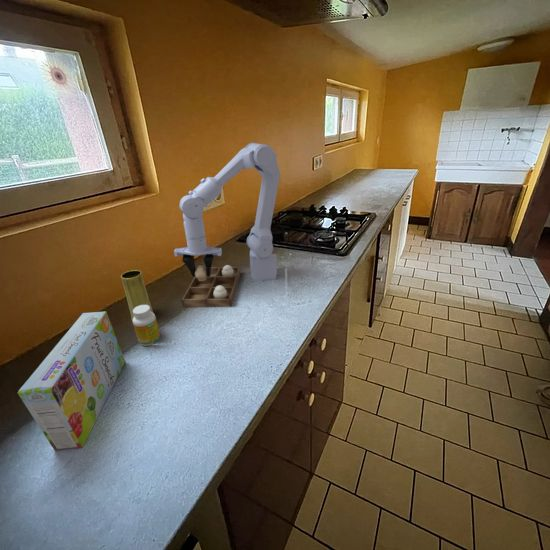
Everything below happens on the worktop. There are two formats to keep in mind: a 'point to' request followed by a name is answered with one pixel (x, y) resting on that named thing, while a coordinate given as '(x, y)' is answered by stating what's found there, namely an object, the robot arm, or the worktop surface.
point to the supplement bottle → (145, 325)
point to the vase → (135, 290)
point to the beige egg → (201, 273)
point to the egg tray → (211, 289)
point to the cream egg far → (227, 271)
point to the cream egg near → (220, 292)
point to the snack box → (74, 381)
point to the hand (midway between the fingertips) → (201, 275)
